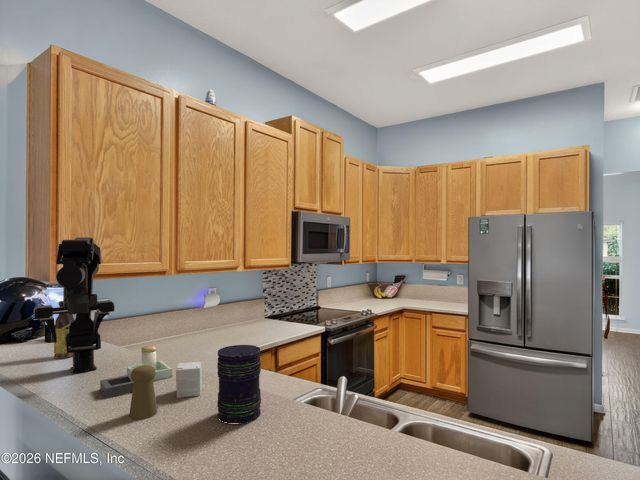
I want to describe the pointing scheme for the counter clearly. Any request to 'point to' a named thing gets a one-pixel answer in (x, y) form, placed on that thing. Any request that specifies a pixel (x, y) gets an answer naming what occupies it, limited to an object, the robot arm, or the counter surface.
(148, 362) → the fuse
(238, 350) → the storage jar
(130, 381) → the socket block
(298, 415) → the counter surface
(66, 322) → the sauce bottle
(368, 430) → the counter surface
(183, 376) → the skincare box
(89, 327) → the robot arm
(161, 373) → the parts tray
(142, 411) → the olive pepper mill
